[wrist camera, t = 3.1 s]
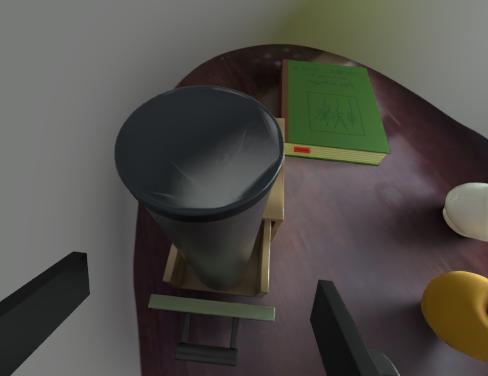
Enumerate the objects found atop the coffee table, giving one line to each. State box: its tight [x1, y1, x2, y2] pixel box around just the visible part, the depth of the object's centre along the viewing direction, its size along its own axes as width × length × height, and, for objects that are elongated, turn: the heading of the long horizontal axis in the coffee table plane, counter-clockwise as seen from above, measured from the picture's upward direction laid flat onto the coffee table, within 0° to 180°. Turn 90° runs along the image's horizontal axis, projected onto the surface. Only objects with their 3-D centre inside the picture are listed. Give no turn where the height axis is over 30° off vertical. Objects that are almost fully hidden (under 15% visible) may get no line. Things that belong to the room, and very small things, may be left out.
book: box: [278, 59, 391, 166], centre depth 46 cm, size 25×19×4 cm
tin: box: [114, 85, 284, 291], centre depth 20 cm, size 7×7×24 cm
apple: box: [421, 271, 488, 362], centre depth 26 cm, size 9×9×9 cm
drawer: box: [148, 220, 275, 366], centre depth 28 cm, size 20×12×7 cm, turn 174°
